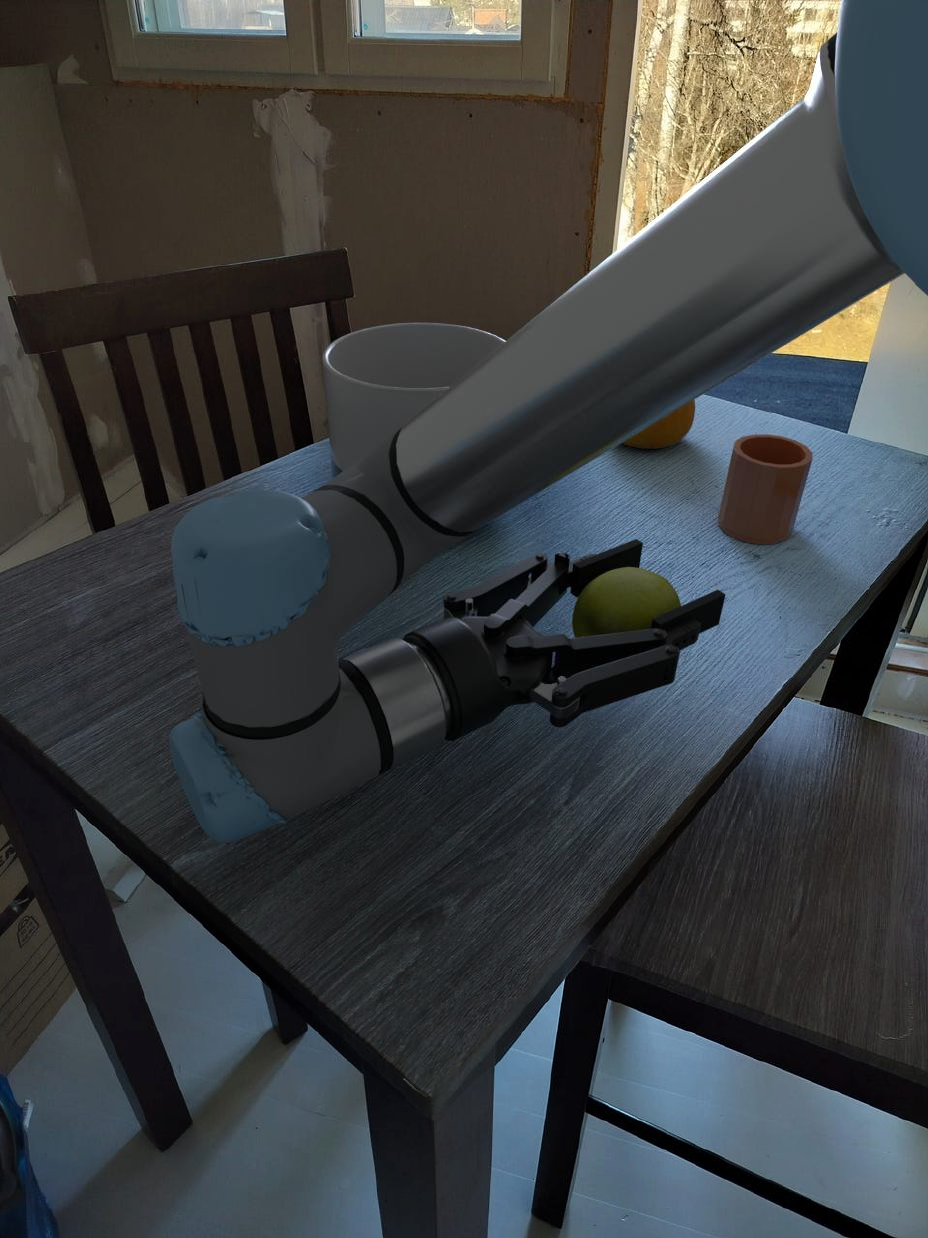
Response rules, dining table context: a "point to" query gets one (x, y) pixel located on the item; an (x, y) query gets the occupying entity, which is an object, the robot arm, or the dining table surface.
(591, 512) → the dining table surface
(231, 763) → the robot arm
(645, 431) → the fruit
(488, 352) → the planter
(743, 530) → the cup
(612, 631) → the apple
